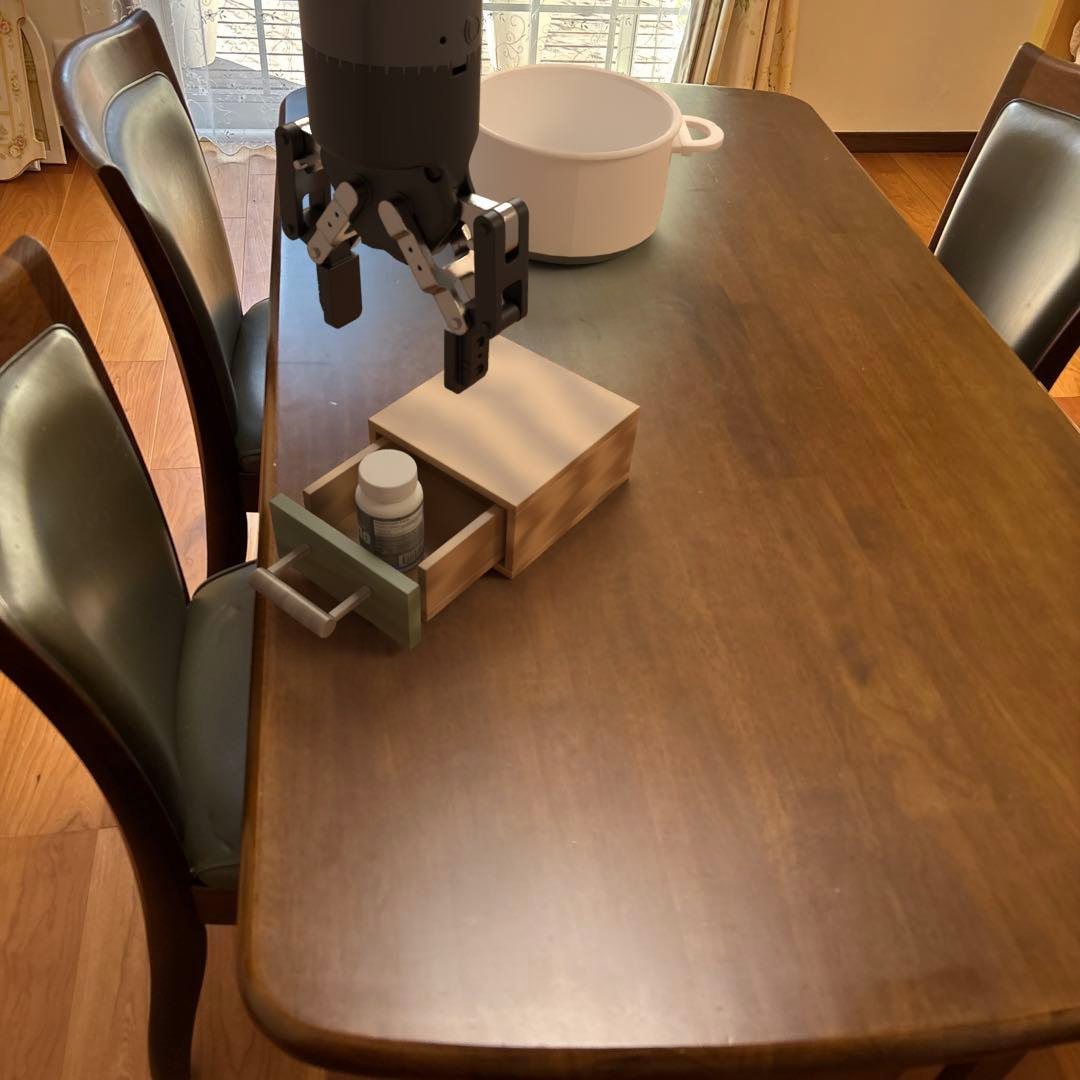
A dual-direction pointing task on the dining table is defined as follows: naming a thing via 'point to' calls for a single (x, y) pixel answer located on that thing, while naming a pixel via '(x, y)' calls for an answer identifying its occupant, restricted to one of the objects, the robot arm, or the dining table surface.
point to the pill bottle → (390, 508)
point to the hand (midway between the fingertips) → (402, 352)
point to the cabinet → (521, 443)
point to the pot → (580, 156)
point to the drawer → (361, 577)
